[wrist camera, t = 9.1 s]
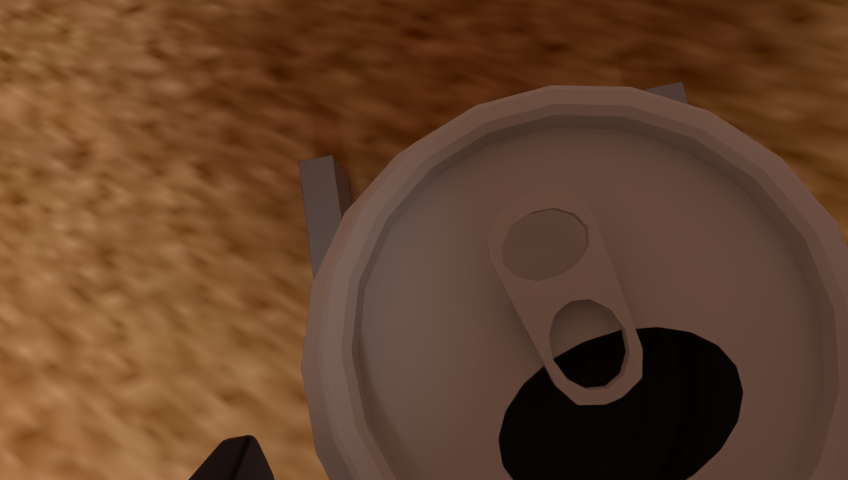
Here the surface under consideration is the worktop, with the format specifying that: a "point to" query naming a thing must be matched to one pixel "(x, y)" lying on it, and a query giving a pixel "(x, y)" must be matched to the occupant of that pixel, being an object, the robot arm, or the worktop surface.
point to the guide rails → (332, 194)
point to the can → (582, 304)
